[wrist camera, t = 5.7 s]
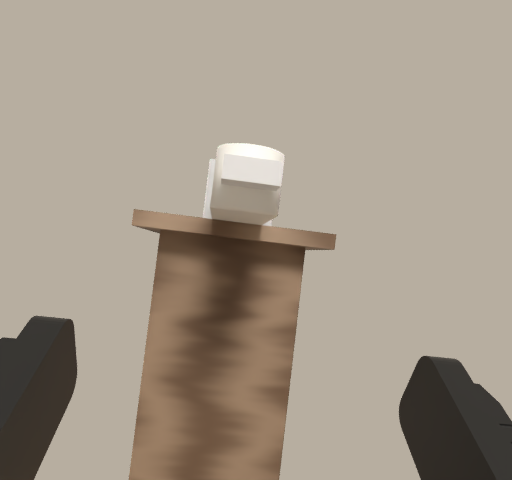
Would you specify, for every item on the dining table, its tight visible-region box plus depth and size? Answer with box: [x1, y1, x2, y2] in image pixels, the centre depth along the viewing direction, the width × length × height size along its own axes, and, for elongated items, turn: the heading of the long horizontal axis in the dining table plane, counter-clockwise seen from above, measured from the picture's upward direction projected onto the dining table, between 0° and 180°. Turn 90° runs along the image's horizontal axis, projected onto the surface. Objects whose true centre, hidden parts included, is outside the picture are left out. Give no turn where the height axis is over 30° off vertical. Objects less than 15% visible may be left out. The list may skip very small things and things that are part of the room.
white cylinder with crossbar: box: [203, 143, 285, 226], centre depth 27 cm, size 21×4×4 cm, turn 5°
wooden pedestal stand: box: [129, 209, 336, 480], centre depth 33 cm, size 14×14×34 cm
